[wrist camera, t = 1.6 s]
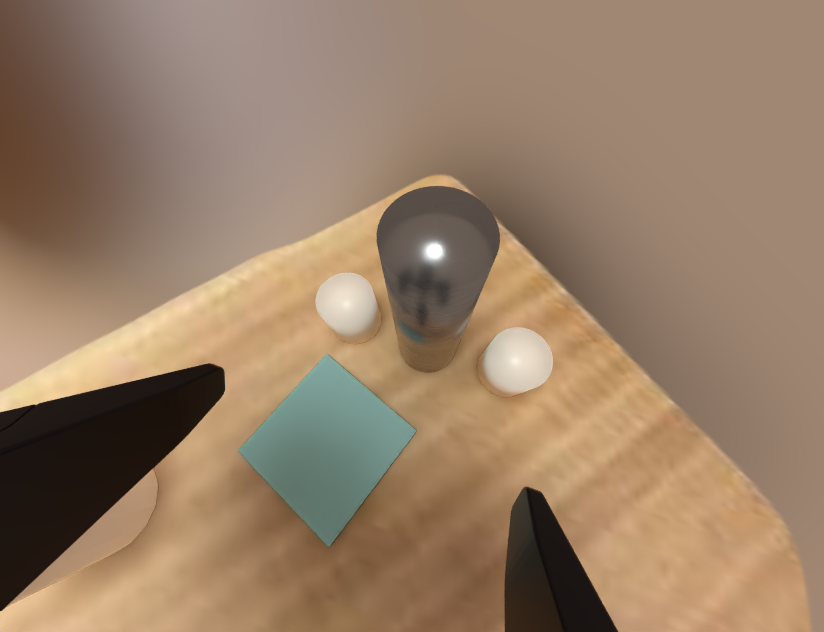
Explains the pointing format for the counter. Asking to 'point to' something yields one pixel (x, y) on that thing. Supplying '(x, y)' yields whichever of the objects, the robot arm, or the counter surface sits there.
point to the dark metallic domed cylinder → (435, 269)
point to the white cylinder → (103, 535)
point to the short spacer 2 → (515, 362)
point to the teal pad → (327, 447)
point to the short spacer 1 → (349, 307)
